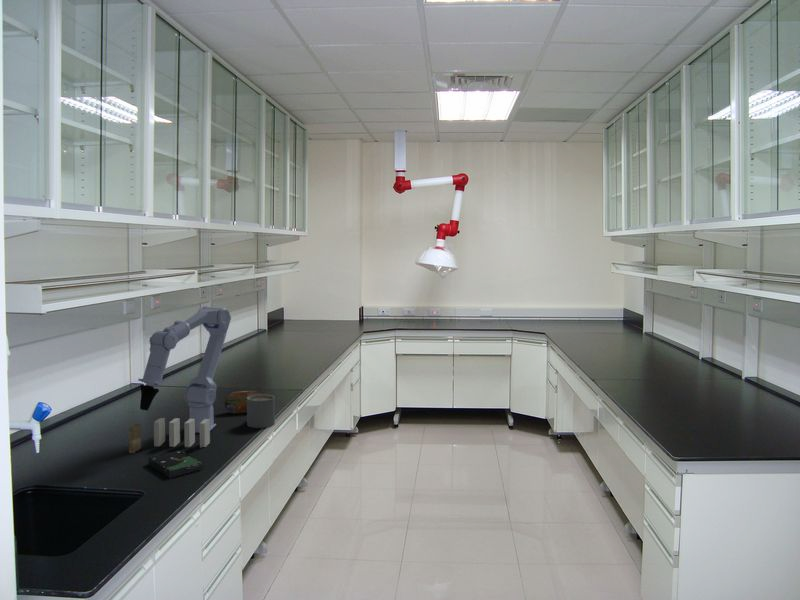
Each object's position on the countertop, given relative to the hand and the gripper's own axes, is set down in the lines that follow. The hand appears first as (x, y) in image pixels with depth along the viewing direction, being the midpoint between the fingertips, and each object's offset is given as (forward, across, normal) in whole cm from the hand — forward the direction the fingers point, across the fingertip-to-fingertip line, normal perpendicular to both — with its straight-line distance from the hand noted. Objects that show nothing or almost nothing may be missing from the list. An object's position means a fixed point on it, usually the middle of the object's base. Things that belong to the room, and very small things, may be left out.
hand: (143, 409), depth 193 cm
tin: (-7, -39, +35) cm, 53 cm away
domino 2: (+9, -8, +12) cm, 17 cm away
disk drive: (+15, +13, +13) cm, 24 cm away
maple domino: (+13, -5, +1) cm, 14 cm away
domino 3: (+8, -6, +17) cm, 19 cm away
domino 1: (+10, -10, +7) cm, 16 cm away
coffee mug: (-4, -23, +40) cm, 47 cm away
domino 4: (+7, -4, +21) cm, 23 cm away
